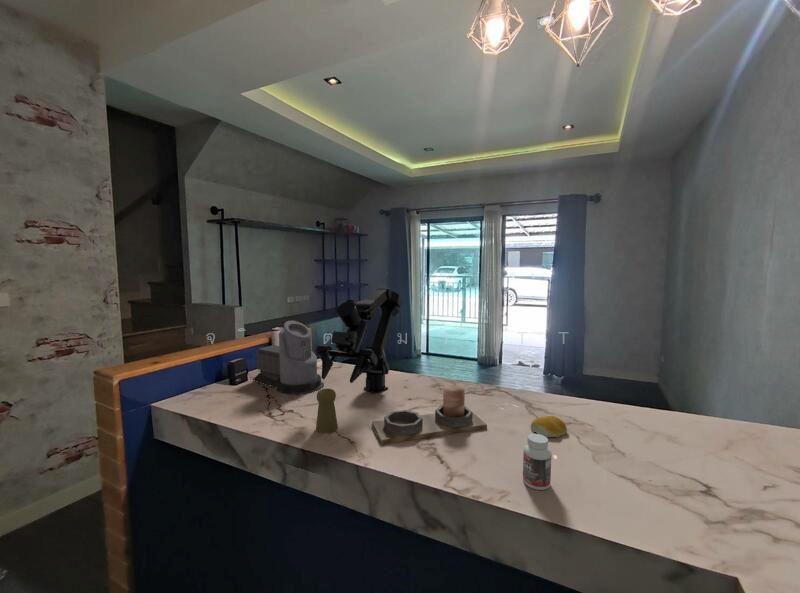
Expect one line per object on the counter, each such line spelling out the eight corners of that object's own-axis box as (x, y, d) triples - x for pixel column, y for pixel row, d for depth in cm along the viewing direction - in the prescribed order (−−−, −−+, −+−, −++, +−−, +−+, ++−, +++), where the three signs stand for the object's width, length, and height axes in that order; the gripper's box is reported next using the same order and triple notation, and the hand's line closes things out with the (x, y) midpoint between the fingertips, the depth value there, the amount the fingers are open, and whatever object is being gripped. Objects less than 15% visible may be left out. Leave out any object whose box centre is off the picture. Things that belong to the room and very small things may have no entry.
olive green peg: (340, 424, 102) (339, 386, 101) (334, 434, 96) (333, 394, 95) (319, 423, 103) (318, 385, 102) (312, 433, 97) (311, 393, 96)
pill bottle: (518, 483, 74) (519, 438, 74) (528, 472, 79) (529, 429, 78) (545, 494, 71) (547, 447, 70) (554, 482, 75) (555, 437, 74)
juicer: (332, 385, 136) (331, 320, 133) (299, 398, 122) (297, 327, 120) (280, 372, 152) (278, 314, 150) (246, 382, 139) (243, 319, 137)
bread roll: (571, 432, 97) (572, 418, 97) (551, 442, 92) (552, 427, 92) (544, 421, 104) (545, 408, 104) (524, 429, 99) (525, 415, 99)
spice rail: (381, 444, 91) (381, 405, 90) (372, 425, 101) (371, 390, 100) (486, 428, 99) (487, 392, 98) (468, 412, 110) (468, 380, 109)
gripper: (317, 318, 111) (296, 363, 101) (373, 322, 104) (356, 369, 95) (331, 339, 119) (313, 382, 109) (383, 343, 112) (369, 389, 103)
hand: (336, 380), depth 104 cm, fingers open, 9 cm apart
